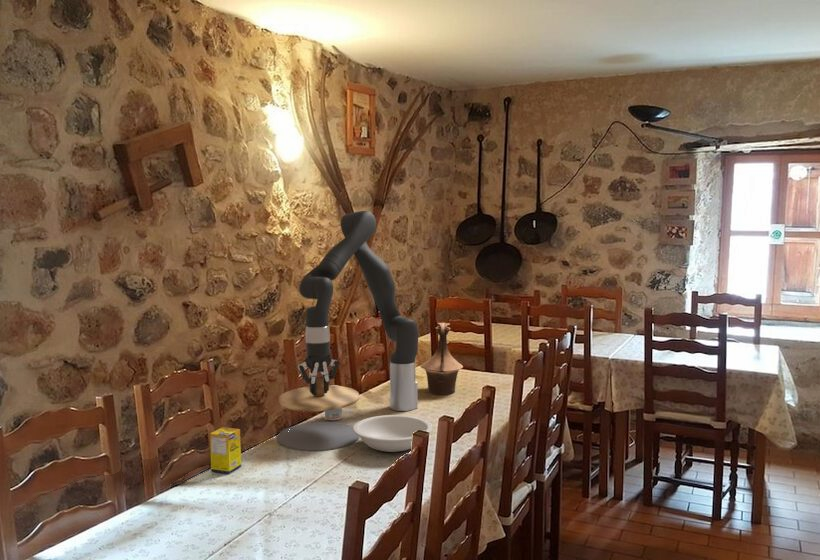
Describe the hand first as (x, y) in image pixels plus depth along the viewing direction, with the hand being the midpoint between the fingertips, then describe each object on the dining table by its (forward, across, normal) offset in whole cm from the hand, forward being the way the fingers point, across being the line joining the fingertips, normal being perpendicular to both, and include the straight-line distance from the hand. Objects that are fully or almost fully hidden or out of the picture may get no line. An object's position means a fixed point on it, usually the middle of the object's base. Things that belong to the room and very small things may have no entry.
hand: (319, 393), depth 209 cm
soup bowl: (+15, -16, +20) cm, 29 cm away
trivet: (+14, 0, 0) cm, 14 cm away
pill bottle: (+15, -11, -16) cm, 24 cm away
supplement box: (+14, +33, +14) cm, 38 cm away
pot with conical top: (+15, -62, -29) cm, 70 cm away
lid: (+2, 0, 0) cm, 2 cm away
